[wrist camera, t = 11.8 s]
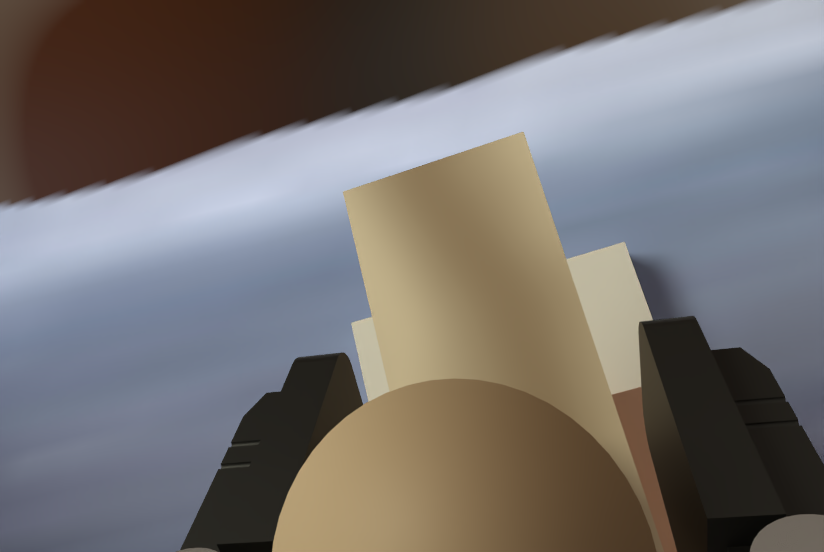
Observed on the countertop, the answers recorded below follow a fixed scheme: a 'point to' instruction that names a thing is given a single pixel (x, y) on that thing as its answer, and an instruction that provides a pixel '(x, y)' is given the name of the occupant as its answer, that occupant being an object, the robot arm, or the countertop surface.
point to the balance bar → (471, 382)
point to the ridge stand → (616, 346)
